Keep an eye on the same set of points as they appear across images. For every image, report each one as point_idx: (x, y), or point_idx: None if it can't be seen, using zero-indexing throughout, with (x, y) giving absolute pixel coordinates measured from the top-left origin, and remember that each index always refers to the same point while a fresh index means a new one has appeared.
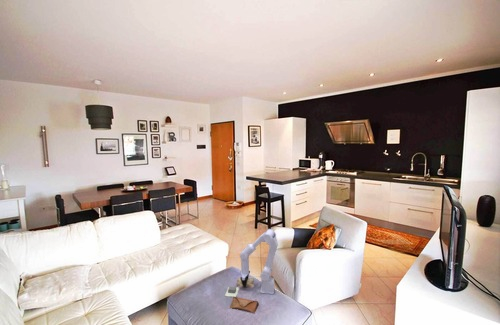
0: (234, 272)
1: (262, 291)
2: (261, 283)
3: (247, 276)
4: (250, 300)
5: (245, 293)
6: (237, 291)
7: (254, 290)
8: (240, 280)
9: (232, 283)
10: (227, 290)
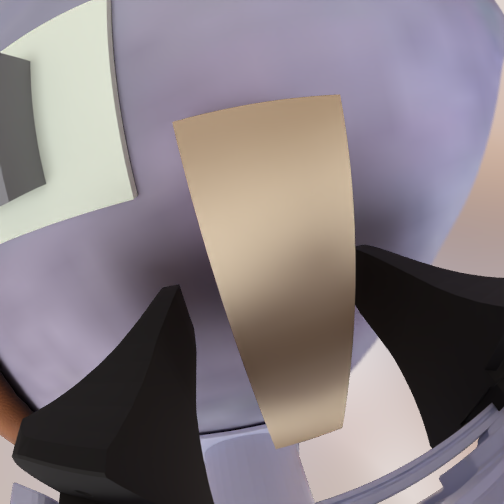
0: (482, 36)
1: (205, 446)
2: (238, 496)
3: (403, 352)
4: (4, 429)
5: (86, 334)
6: (33, 224)
7: (197, 397)
8: (210, 254)
9: (258, 7)
10: (12, 49)
